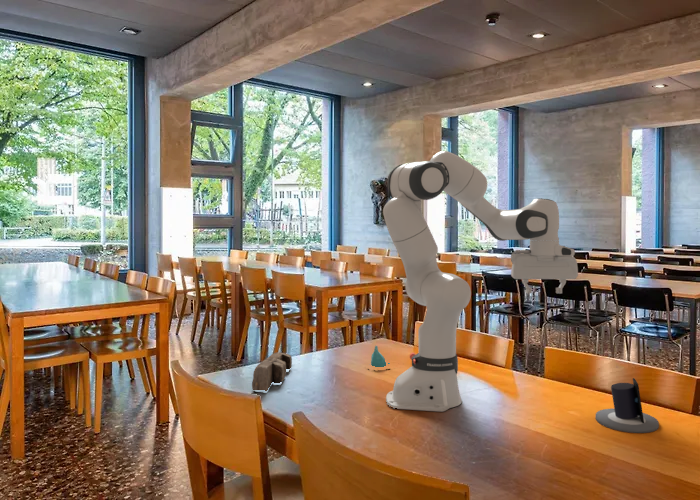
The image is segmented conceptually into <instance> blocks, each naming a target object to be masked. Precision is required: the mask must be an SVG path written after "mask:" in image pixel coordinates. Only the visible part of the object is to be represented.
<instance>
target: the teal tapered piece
mask: <svg viewBox="0 0 700 500" xmlns="http://www.w3.org/2000/svg"><path fill="white" fill-rule="evenodd" d="M385 360H386V359H385V357H384V356H383V355H382V353H381V352H380V351H379V347H378V345H375V346H374V351H373V352H372V354H371V359H370V364H371V365H372V366H375V367H384V366H386V362H385ZM388 364H390V363H388Z"/></svg>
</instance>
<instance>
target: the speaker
mask: <svg viewBox="0 0 700 500" xmlns="http://www.w3.org/2000/svg"><path fill="white" fill-rule="evenodd" d="M610 390H611V395H612V402H613V409H614V410H615V416H616V417H618V418H621V419H633V418H636V417H638V416H639V418H640V420H641V421H642V423H644V419H643V413H644V412H643V406H642V401H641V400H642V399H641V393H640V387H639V383H638V381H637V380H636V379H635V378H634V377H633V378H632V383H629V382H616V383H614V384H611V386H610Z"/></svg>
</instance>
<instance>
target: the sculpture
mask: <svg viewBox="0 0 700 500" xmlns="http://www.w3.org/2000/svg"><path fill="white" fill-rule="evenodd" d="M292 363H293V358H292V355H290V354H289V353H284V352H278V351H277V352H274V353H272V354H271V355H270V356H268V357H267V358H266V359H264V360H262V361H261V362H259V363H258V364H257V365H256V367H255V368H254V371H253V374H252V375H253V376H252V381H251V382H252V383H251V387H252V388H251V389H252V391H253V390H265V391H267V390H268V388H269V387H270V385H271V383H272V382H274V383H280V382H282V381H283V380H284V381H285V379H286V375H287V372H286V369H290V368H291V369H292V367H293V364H292ZM284 378H285V379H284ZM284 381H283V382H284Z"/></svg>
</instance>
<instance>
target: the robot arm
mask: <svg viewBox="0 0 700 500" xmlns="http://www.w3.org/2000/svg"><path fill="white" fill-rule="evenodd" d="M386 181H387V182H386V183H387V190H388V192H387V196H388V199H389V200H388V201H387V202H386V203H385V205H384V206H383V210H382V215H383V217H384V222H385V224H386V228H387V230H388V233H389V235H390V239H391V240H392V243H393V244H394V247H395V249H396V251H397V254H398V255H399V258H400V259H401V262H402V264H403V269H404V272H405V276H406V281H405V285H404V287H405V288H404V289H405V292H406V295H407V296H408V298H410V299H411V300H412V301H413V302H415V303H417V304H418V305H420V306H424V307H426V314H425V317H424V320H423V322H422V324H420V325H419V327H418V332H417V333H418V334H417V335H418V341H417V342H418V344H417V345H418V352H417V353H415V352H410V354H409V360H411V366H410V367H408V369H406V370H404V372H403V371H402V373H401V374H399V375H398V376H396V378H395V380H394V385H393V388H392V389H393V390H391V391H389V392H387V394H386V396H385V401H386V402H387V403H386V405H387V406H388V405H389V406H388V407H390V406H391V407H393V408H392V409H395V408H397V409H398V410H410V411H411V410H413V411H427V412H440V413H441V412H446V411H447V410H449V409H451V408H455V407H458V406H460V405H461V404H462V402H463V401H462V398H461V394H460V389H459V382H458V375H457V374H458V371H459V359H458V355H457V328H458V325H459V324H458V323H459V319H460V316H461V314H462V312H463V310H464V309H465V308H467V306H468V305H469V303H470V301H471V296H472V290H471V287H470V285H469V283H468V282H467V281H466V280H465V279H463V278H462V277H460V276H458V275H456V274H454V273H448V272H443V271H441V269H440V268H439V266H438V265H439V264H438V262H437V255H438V251H439V249H438V245H437V243H436V240H435V239H434V236H433V234H432V232H431V230H430V227H429V226H428V223H427V220H426V219H425V217H424V215H423V210H422V201H429V200H433V199H435V198H437V197H438V196H439V195H441V194H442V193H443V192H445V193H446V194H447V195H448V196H450V197H451V198H453V200H455V201H457V202H459V203H460V205H461V206H463V208H464V209H466V210H467V211H468V212H469V213H470V214H471V215H473V216H474V217H475V218H476V219H478V221H480V222H481V223H482V224H483V225H484V226H485V227H486V229H487V230H488V232H489V234H490V235H491V236H492V237H493V238H494V239H496V240H497V241H503V242H505V241H512V240H513V241H514V240H515V241H516V240H517V241H521V240H522V241H523V240H524V241H527V240H529V249H523V250H521V249H517V250H515V251H513V252H512V253H511V254H510V262H511V263H512V264H511V269H510V270H511V271H510V276H511V277H512V278H513V279H514V280H522V281H521V282H522V284H523V285H524V287H525V293H526V294H533V288H532V287H530V286H529V284H528V283H529V280H559V283H560V284H559V286H558V287H555V293H556V294H559V295H561V294H563V288H564V286H565V285H566V283H567V280H576V279H577V278H578V276H579V267H578V261H577V258H575V257H574V256H575V254H576V251H575V249H573V248H572V247H571V248H570V247H568V246H565V245H561V244H560V238H559V230H560V212H559V206H558V203H557V202H556V201H555V200H553V199H551V198H533V200H532V201H531V202H530V203H528V204H527V205H526V206H524V207H521V208H516V209H500V208H497V207H495V206H494V205H493V204H492V203H491V202H489V200H487V199H486V198H485V197H484V196H485V194H486V192H487V190H488V178H487V177H486V175H485V174H484V173H483V172H482V171H481V170H480V169H478V168H477V167H476V166H474V165H473V164H472V163H470V162H469V161H468V160H466V159H465V158H462V157H460V155H457V154H455V153H452V152H450V151H448V150H441V151H438V152H436V153H435V154H434V155H432V157H431V159H430V160H425V161H409V162H407V163H402V164H399V165H397V166H396V167H395V166H394V168H393V169H391V171H390V172H389V174H388V176H387V180H386ZM391 407H390V408H391Z"/></svg>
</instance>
